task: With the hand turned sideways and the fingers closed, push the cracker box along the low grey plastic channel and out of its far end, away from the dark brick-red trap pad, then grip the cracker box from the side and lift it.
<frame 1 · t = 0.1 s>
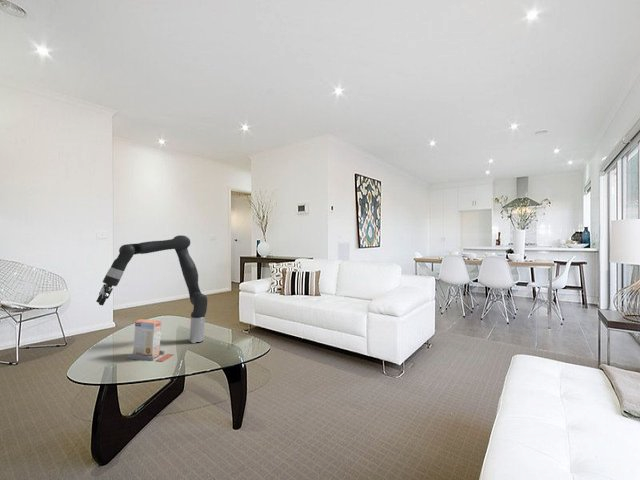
hand: (99, 303, 170), 31 cm above the table, tool tilted 20°, fingers open, 8 cm apart
channel: (146, 356, 178), on the table
trap pad: (165, 357, 177), on the table
cracker box: (146, 356, 178), on the table
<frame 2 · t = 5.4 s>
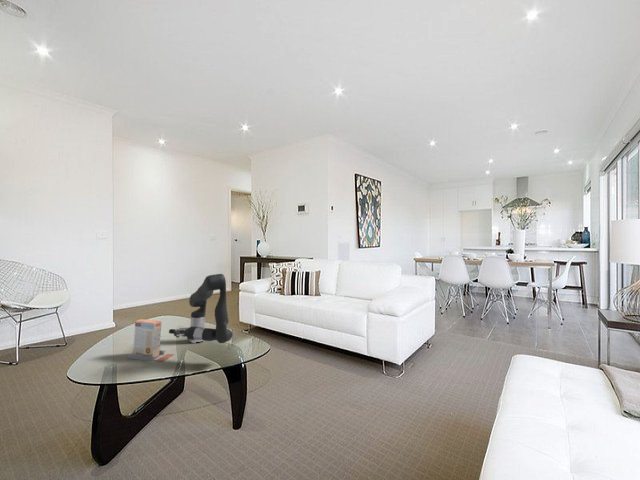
hand: (169, 331, 177), 16 cm above the table, tool horizontal, fingers closed
nothing on the table moved.
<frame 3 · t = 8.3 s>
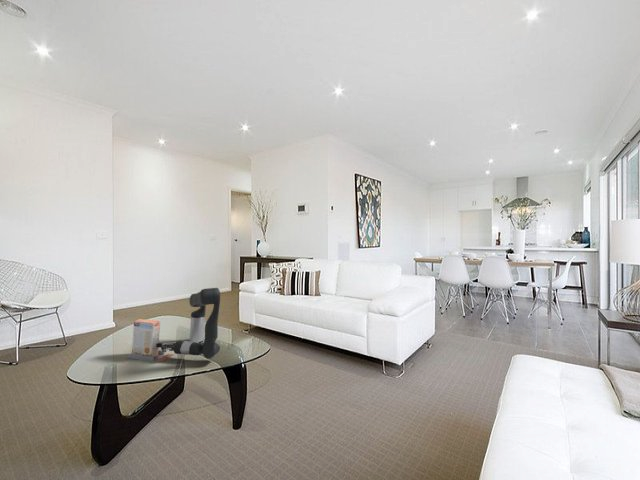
hand: (157, 345, 178), 7 cm above the table, tool horizontal, fingers closed
cracker box: (145, 356, 178), on the table, touching gripper
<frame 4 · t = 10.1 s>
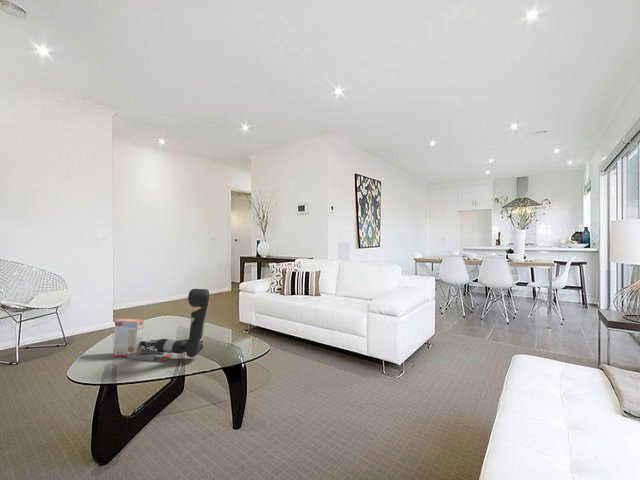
hand: (140, 343, 179), 7 cm above the table, tool horizontal, fingers closed
cracker box: (127, 355, 178), on the table, touching gripper
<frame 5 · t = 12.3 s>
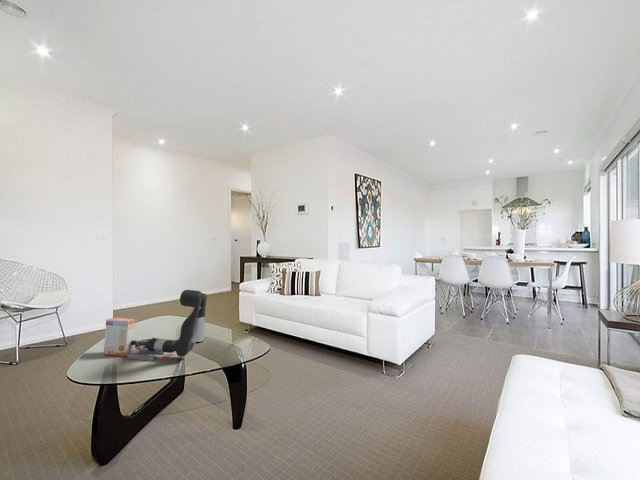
hand: (131, 342, 179), 7 cm above the table, tool horizontal, fingers closed
cracker box: (118, 354, 179), on the table
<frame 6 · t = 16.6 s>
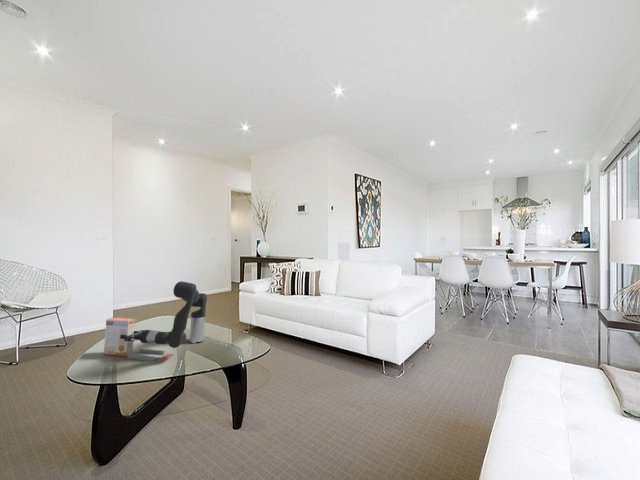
hand: (126, 334, 180), 12 cm above the table, tool horizontal, fingers open, 8 cm apart
nothing on the table moved.
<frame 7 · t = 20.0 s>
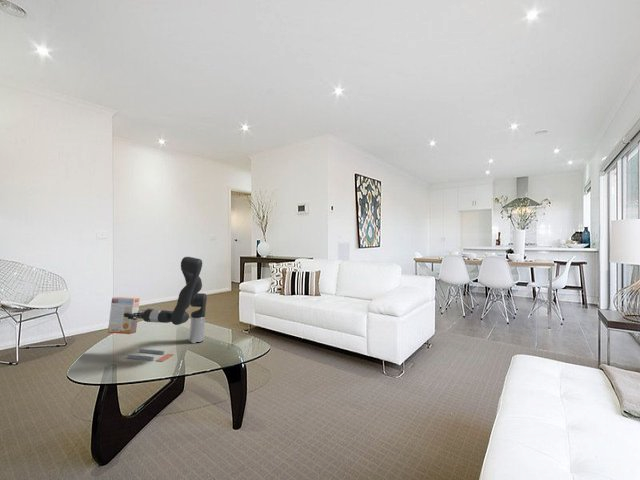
hand: (128, 313, 180), 24 cm above the table, tool horizontal, fingers closed on cracker box, 6 cm apart
cracker box: (122, 333, 179), point 12 cm above the table, touching gripper
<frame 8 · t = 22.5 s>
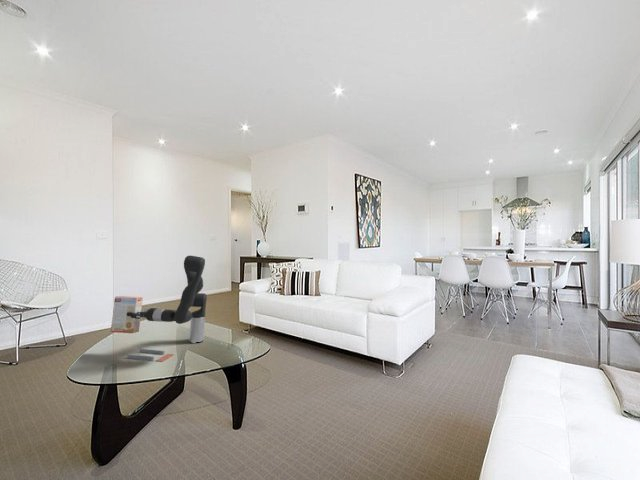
hand: (131, 312, 180), 25 cm above the table, tool horizontal, fingers closed on cracker box, 6 cm apart
cracker box: (124, 332, 179), point 13 cm above the table, touching gripper
at the end: the gripper is holding cracker box; cracker box inside the target area (2.9 cm from its centre), point 13.1 cm above the table; cracker box moved 19.0 cm from its start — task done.
